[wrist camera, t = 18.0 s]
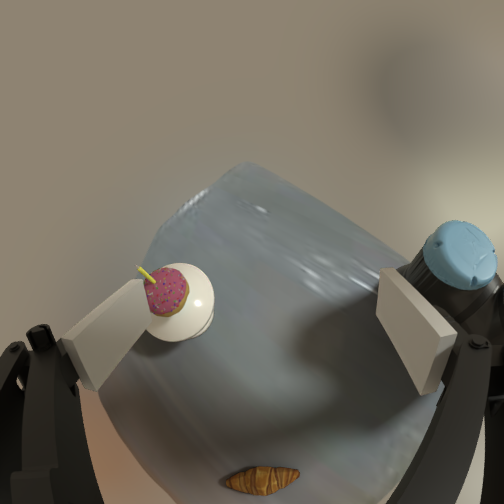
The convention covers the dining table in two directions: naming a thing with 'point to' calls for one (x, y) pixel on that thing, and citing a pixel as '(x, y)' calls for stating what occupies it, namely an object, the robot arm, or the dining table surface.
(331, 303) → the dining table surface
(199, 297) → the cake stand
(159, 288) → the cupcake
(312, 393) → the dining table surface
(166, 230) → the dining table surface
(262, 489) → the croissant
